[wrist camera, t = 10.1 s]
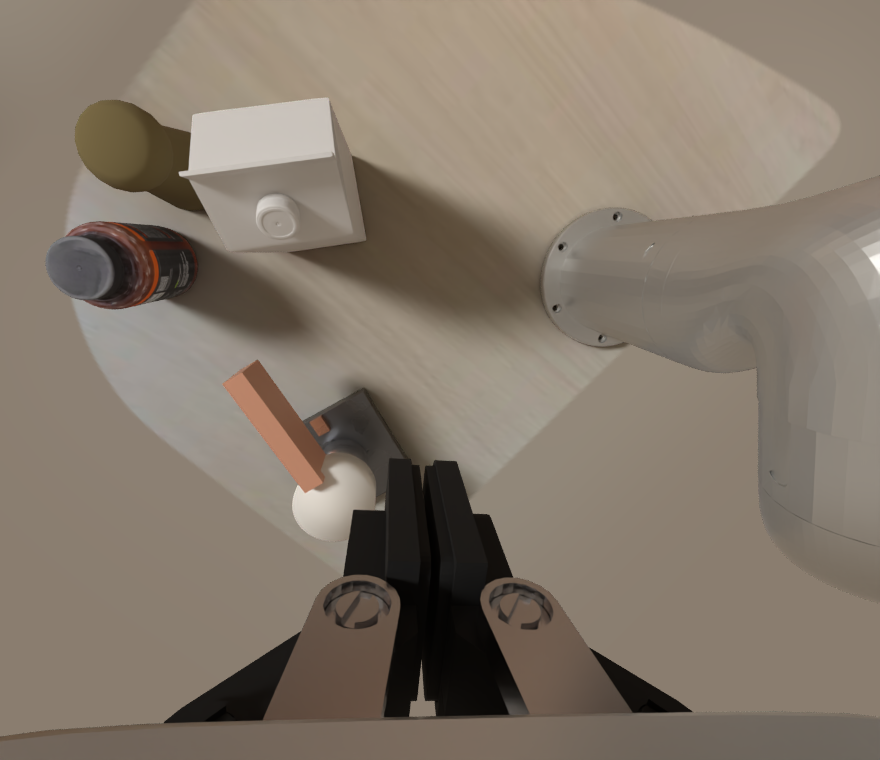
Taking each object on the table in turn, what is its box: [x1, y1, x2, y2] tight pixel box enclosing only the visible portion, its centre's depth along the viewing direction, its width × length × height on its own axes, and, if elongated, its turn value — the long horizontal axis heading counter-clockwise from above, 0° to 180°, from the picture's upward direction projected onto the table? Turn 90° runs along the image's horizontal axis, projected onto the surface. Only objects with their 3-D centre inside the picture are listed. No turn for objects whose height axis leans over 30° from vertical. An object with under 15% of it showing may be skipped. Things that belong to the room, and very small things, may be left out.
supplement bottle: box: [46, 221, 198, 309], centre depth 34 cm, size 6×6×11 cm
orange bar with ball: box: [223, 360, 376, 541], centre depth 36 cm, size 16×6×4 cm, turn 30°
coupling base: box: [302, 388, 408, 497], centre depth 43 cm, size 10×10×6 cm
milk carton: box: [179, 98, 366, 252], centre depth 31 cm, size 7×7×19 cm
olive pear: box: [75, 100, 204, 211], centre depth 33 cm, size 6×6×11 cm
